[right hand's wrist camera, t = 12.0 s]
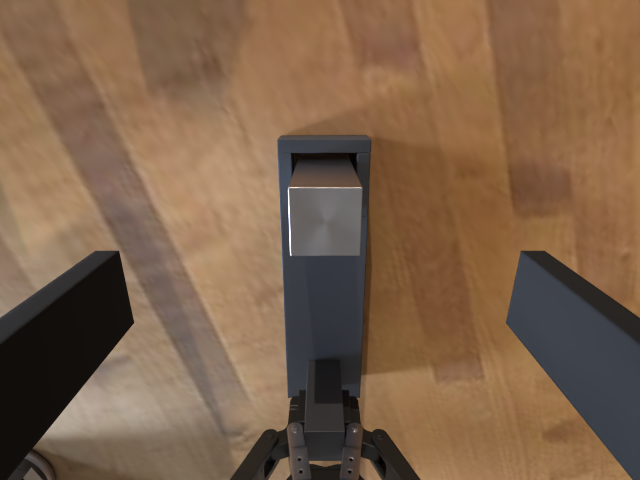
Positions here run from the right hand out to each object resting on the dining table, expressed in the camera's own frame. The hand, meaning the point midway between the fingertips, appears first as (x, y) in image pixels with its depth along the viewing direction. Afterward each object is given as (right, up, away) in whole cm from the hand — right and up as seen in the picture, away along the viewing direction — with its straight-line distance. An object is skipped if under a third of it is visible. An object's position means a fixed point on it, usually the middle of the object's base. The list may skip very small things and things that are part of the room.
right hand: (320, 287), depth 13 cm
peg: (0, +7, +20) cm, 21 cm away
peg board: (0, -1, +23) cm, 23 cm away
